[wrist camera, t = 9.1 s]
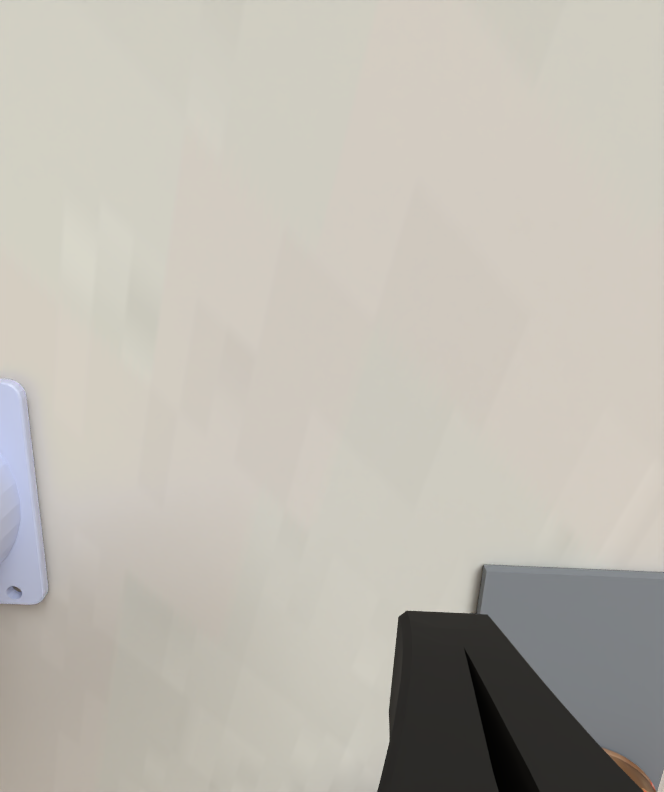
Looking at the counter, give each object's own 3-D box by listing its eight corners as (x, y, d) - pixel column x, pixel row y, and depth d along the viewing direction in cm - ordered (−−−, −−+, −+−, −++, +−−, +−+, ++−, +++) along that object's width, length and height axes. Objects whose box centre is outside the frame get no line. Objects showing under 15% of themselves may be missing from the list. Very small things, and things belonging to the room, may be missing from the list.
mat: (433, 901, 26) (434, 911, 25) (483, 564, 20) (486, 571, 20) (615, 907, 26) (619, 917, 26) (712, 574, 21) (719, 581, 20)
